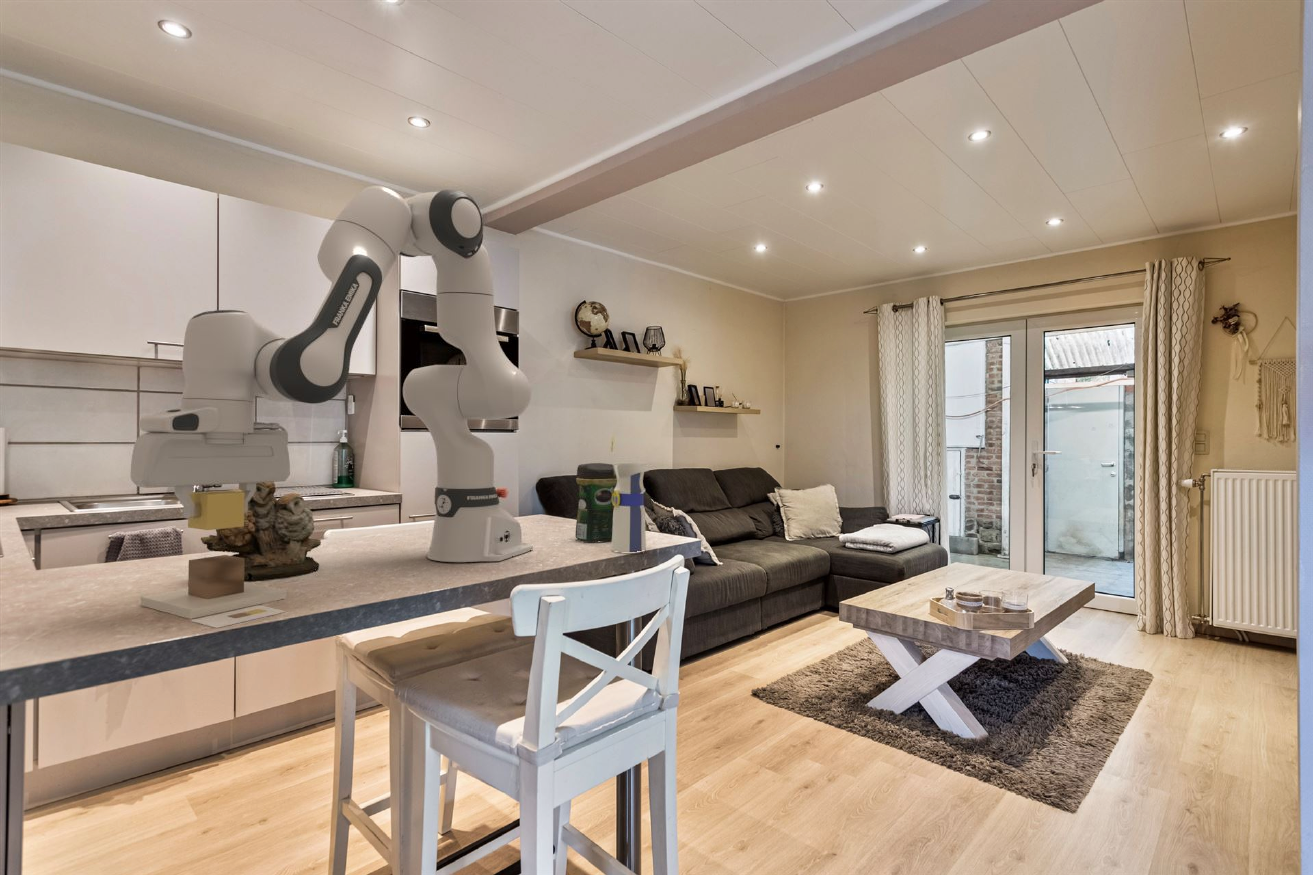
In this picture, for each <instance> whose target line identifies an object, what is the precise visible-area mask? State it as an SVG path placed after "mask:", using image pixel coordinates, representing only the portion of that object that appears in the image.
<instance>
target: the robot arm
mask: <svg viewBox="0 0 1313 875" xmlns="http://www.w3.org/2000/svg"><path fill="white" fill-rule="evenodd" d="M482 216H483V215H482V213H481V210H480V208H479V205H478V204H477V202H476V200H475V199H474V198H473V197H472V196H471V195H470V194H468V193H466V192H464V191H461V190H456V189H442V190H441V191H428V192H427V191H426V192H422V193H417V194H415V195H414V196H410V197H406V198H403V197H402V195H400V194H399V193H398V192H396V191H394V190H393V189H391V188H388V187H386V186H383V185H371V186H368V187H365V188H363V189H362V190H361V191H360V192H359V193H357V195H355V197H353V198H352V200H350V202H348V204H346V206H345V207H344V208H343V210H342V211H341V212H340V213H339V215H338V216H337V217H336V219H335V220H334V221H333V222H332V223H331V226H330V228H329V229H328V230H327V232H326V234H325V235H324V237H323V240H322V241H321V244H320V247H319V250H318V253H317V261H318V265H319V268H320V270H321V272H322V273H323V275H324V276H325V277H326V279H328V280H329V281H330V282H331V285H330V288H329V290H328V292H327V294H326V296H325V298H324V300H323V301H322V303H321V305H320V307H319V308H318V310H317V313H315V314H316V315H315V316H314V318H313V319H312V322H311V323H310V324H309V325H308V326H307V327H306V328H305V329H303V331H301V332H300V333H297V334H296V335H294V336H292V337H289V338H286V337H283V336H281V335H279V334H277V333H276V332H273V331H271V330H269V329H268V328H266V327H265V326H263V325H262V324H261V323H259V322H258V321H257V320H256V319H254V318H253V316H252V315H251V314H250V313H248V312H246V311H243V310H237V309H220V310H217V309H216V310H207V311H203V312H201V313H197V314H195V315H194V316H192V318H190V319H189V320H188V322H187V325H186V328H185V333H184V340H183V347H182V348H183V349H182V363H181V365H182V368H181V370H182V372H183V375H184V380H185V381H184V382H185V385H184V389H183V392H182V395H181V403H180V404H181V407H178V408H174V409H169V410H166V411H165V410H164V411H161V412H157V413H153V414H152V413H151V414H147V415H145V416H142V417H140V419H139V428H140V430H141V431H143V432H145V433H142V434H141V435H140V436H138V437H137V439H136V440H135V442H134V445H133V449H132V455H131V461H130V480H131V481H132V482H133V484H134V485H135V486H136V487H139V488H147V489H148V488H150V489H153V488H169V487H170V488H174V495H175V496H176V498H177V500H178V501H179V502H180V504H181V505H182V506H183V507H182V508H183V509H182V510H183V513H182V514H183V515H182V516H183V518H184V519H187V520H188V519H191V518H200V517H201V512H200V511H201V505H195V504H194V502H193V501H192V499H191V497H190V496H189V494H193V492H194V488H195V487H196V486H197V487H198V486H214V485H216V486H217V485H233V484H235V485H237V484H238V489H239V490H243V491H242V492H245V493H244V514H246V513H247V512H248V502H249V501H250V499H251V497H252V496H253V494H254V493H255V491H256V483H261V482H274V483H277V482H279V483H280V482H286V480H288V478H289V477H290V475H291V467H290V466H291V463H290V455H289V454H290V453H289V449H288V448H289V447H288V445H289V434H288V431H287V430H286V428H285V427H284V426H282V425H280V424H279V423H276V422H261V421H260V422H259V421H255V398H256V397H257V398H262V399H265V400H268V401H272V402H278V403H280V402H281V403H282V402H283V403H284V402H285V403H295V402H296V403H297V402H299V403H304V404H322V403H325V402H328V401H330V400H332V399H333V398H335V397H337V396H338V395H339V394H340V393H341V392H342V390H343V389H344V387H345V385H346V384H347V382H348V378H349V373H350V366H351V357H352V352H353V349H354V345H355V343H356V341H357V338H358V336H359V334H360V332H361V330H362V328H363V326H364V325H365V322H366V321H367V318H368V316H369V314H370V312H371V311H372V308H373V306H374V304H375V301H376V299H377V297H378V296H379V293H380V290H381V286H382V285H383V282H384V281H385V279H386V278H387V277H388V274H389V273H390V271H391V269H392V268H393V266H394V264H395V263H396V261H397V259H398V257H399V256H402V257H407V258H416V257H431V259H432V260H433V262H434V265H435V266H434V267H435V269H436V286H435V287H436V320H437V323H436V324H437V326H436V327H437V331H438V334H439V335H440V337H441V338H442V339H443V340H444V341H445V342H446V343H447V344H449V345H452V346H453V347H455V348H457V349H459V350H461V352H462V353H463V356H464V357H465V361H466V364H460V365H458V364H434V365H428V366H423V367H418V368H414V369H412V370H411V371H410V372H409V373H408V375H407V376H406V378H405V379H404V382H403V386H402V397H403V400H404V403H405V405H406V407H407V408H408V410H409V411H410V412H411V413H412V414H413V415H414V416H416V417H418V418H419V420H421V421H422V423H423V424H424V425H425V426H426V428H427V429H428V431H429V433H430V436H431V437H432V438H431V439H432V440H433V442H434V446H435V451H436V468H437V469H436V470H437V472H436V474H437V480H436V481H437V482H436V483H437V484H436V487H435V488H434V496H433V497H434V505H435V516H434V521H433V528H432V536H431V541H430V546H429V549H428V554H427V556H426V557H427V558H428V559H429V560H431V561H437V562H438V561H439V562H445V563H447V562H448V563H468V562H469V563H473V562H474V563H475V562H500V561H503V560H507V559H510V558H513V557H516V556H519V555H522V554H525V553H528V552H530V550H531V551H533V550H534V549H533V548H534V547H533V545H532V544H530V543H525V542H523V541H522V539H523V538H522V527H521V524H520V522H519V521H518V520H517V519H516V518H515V517H514V516H513V515H511V514H510V513H509V512H508V511H507V510H506V509H505V508H503V507H502V506H501V504H500V499H499V498H502V499H506V498H508V496H509V490H508V488H498V487H497V489H496V487H495V486H494V483H495V481H494V477H495V476H494V475H495V452H494V451H493V450H494V449H493V448H492V447H491V445H490V444H489V443H488V442H486V441H485V440H483V439H482V438H480V437H478V436H476V435H475V434H472V432H471V430H470V428H469V426H468V420H504V419H509V418H515V417H519V416H522V414H523V413H525V411H526V410H527V408H528V406H529V404H530V401H531V396H532V390H531V385H530V381H529V379H528V378H527V375H525V373H524V372H523V371H522V370H520V369H519V368H518V367H517V366H516V365H514V363H512V361H511V360H509V358H508V357H507V356H506V354H505V352H504V351H503V349H502V347H501V345H500V342H499V340H498V334H497V331H496V330H497V329H496V321H495V319H496V318H495V302H494V301H495V297H494V296H495V294H494V293H495V292H494V279H493V270H492V266H491V260H490V257H489V252H488V250H487V248H486V247H485V245H483V244H482V243H483V240H484V221H483V217H482ZM512 556H513V557H512Z"/></svg>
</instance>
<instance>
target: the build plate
mask: <svg viewBox="0 0 1313 875" xmlns="http://www.w3.org/2000/svg"><path fill="white" fill-rule="evenodd" d="M286 599H287V590H286V589H282V588H281V589H280V588H276V587H271V586H266V585H263V584H257V583H252V582H248V581H246V582H244V592H243V593H238V594H233V595H228V596H222V597H217V598H212V599H203V598H199V597H195V596H191V595H188V588H183V589H178V590H173V591H172V590H171V591H166V592H161V593H155V594H150V595H149V594H148V595H144V596H141V597H140V606H142V607H147V608H149V609H153V610H157V611H161V612H164V613H166V614H167V613H168V614H172V615H174V616H178V617H183V618H185V619H189V620H194V619H199V618H203V617H208V616H212V615H217V614H222V613H226V612H231V611H236V610H240V609H245V608H249V607H254V606H259V605H262V604H266V603H271V602H276V601H280V600H281V601H282V600H286Z"/></svg>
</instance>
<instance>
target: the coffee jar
mask: <svg viewBox="0 0 1313 875" xmlns="http://www.w3.org/2000/svg"><path fill="white" fill-rule="evenodd" d="M612 464H613V463H612ZM612 464H610V463H603V462H593V463H592V462H591V463H583V464H579V465H578V466H577V468H576V477H575V481H576V484H577V488H578V505H577V513H576V514H577V516H576V525H575V539H576V540H577V541H579V542H581V541H583V542H589V543H599V542H598V541H604V542H608V541H609V542H610V541H612V531H613V510H614V506H613V504H612V494H613V492H614V489H615V487H616V484H617V477H616V474H615V475H614V470H613V465H612Z"/></svg>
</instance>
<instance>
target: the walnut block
mask: <svg viewBox="0 0 1313 875" xmlns="http://www.w3.org/2000/svg"><path fill="white" fill-rule="evenodd" d="M244 559H245V558H240V557H234V556H232V555H228V554H221V555H215V556H214V555H213V556H207V557H201V558H193V559H188V576H187V577H188V580H187V582H188V583H187V584H188V585H187V586H188V588H187V589H188V595H191V596H195V597H199V598H203V599H212V598H217V597H222V596H228V595H233V594H238V593H243V592H244Z"/></svg>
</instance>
